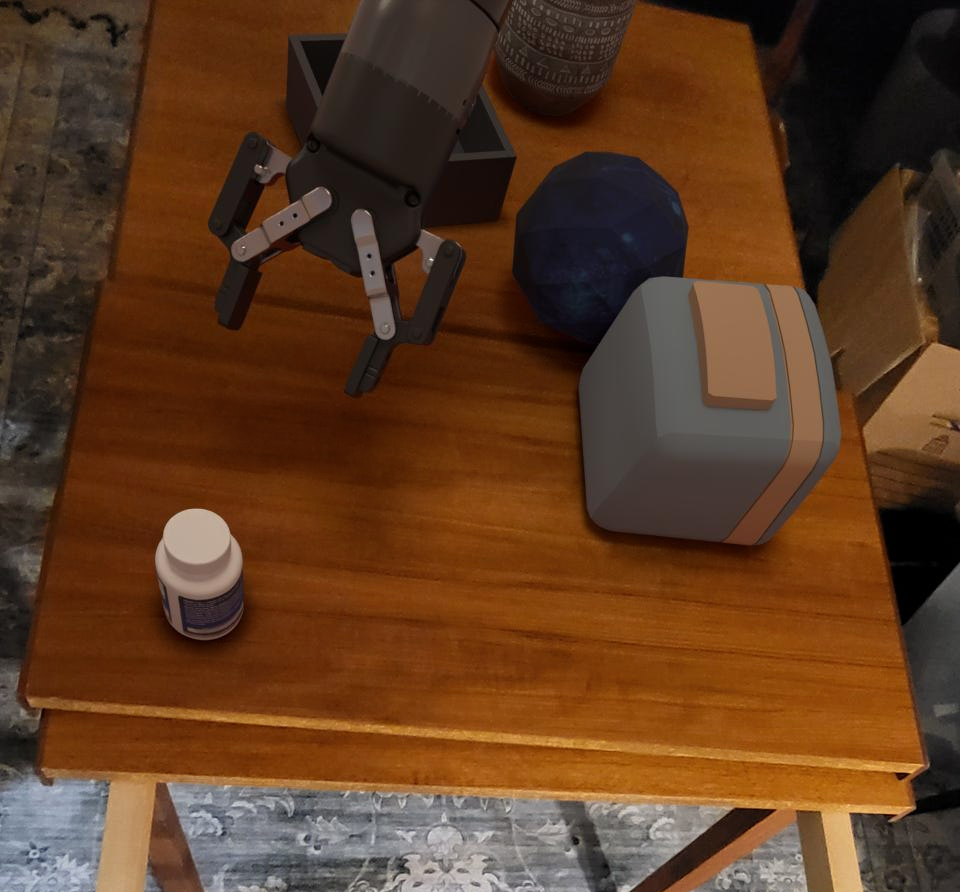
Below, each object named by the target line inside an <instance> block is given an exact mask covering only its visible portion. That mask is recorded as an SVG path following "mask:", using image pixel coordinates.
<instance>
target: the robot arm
mask: <svg viewBox="0 0 960 892" xmlns="http://www.w3.org/2000/svg"><path fill="white" fill-rule="evenodd" d="M513 1H514V0H360V1H359V3H358V5H357V6H356V10H355V12H354V15H353V17H352V20H351V22H350V25H349V28H348V30H347V32H346V33H347V35H346V38H345V40H344V43H343V45H342V48H341V50H340V53H339V56H338V58H337V61H336V63H335V66H334V69H333V71H332V74H331V76H330V79H329V81H328V84H327V86H326V89H325V92H324V94H323V97H322V99H321V102H320V104H319V107H318V110H317V112H316V115H315V117H314V120H313V122H312V125H311V128H310V131H309V134H308V137H307V141H306V144H305V146H304V147H303V149H302V148H301V150H300V151H299V152H298V153H297V154H296V155H295V156H293V158H292V157H290V156H289V155H288V154H286V153H284V152H283V151H281V150H280V149H278V147H277V145H276V144H275V143H273V142H272V141H270V140H269V139H267V138H266V137H265V136H263V135H261V134H260V133H258V132H257V131H250V132H248V133H246V134H245V135H244V137H243V138H242V142H241V144H240V146H239V148H238V151H237V153H236V155H235V158H234V160H233V162H232V164H231V167H230V169H229V171H228V174H227V175H226V178H225V181H224V183H223V186H222V187H221V190H220V192H219V194H218V197H217V199H216V202H215V204H214V206H213V208H212V211H211V213H210V215H209V217H208V220H207V226H208V227H207V228H208V230H209V232H210V233H211V234H212V235H214V236H216V237H217V238H218V240H220V241H221V243H222V244H223V246H225V247H226V249H227V250H228V253H229V262H228V264H227V268H226V270H225V273H224V275H223V278H222V280H221V284H220V286H219V289H218V292H217V294H216V296H215V299H214V312H216V313H218V317H217V324H218V325H220V326H222V327H223V328H225V329H227V330H229V331H239V330H241V328H242V326H243V325H244V322H245V320H246V318H247V314H248V312H249V310H250V306H251V305H252V301H253V299H254V297H255V294H256V292H257V289H258V287H259V284H260V281H261V279H262V276H263V274H264V273H263V272H262V271H260V270H259V269H260V267H261V266H263V265H264V264H266V263H268V262H270V261H271V260H273V259H275V258H277V257H279V256H280V255H282V254H284V253H287V252H290V251H293V250H295V249H297V248H299V247H301V249H302V250H303V251H305V252H307V253H309V254H311V255H313V256H315V257H317V258H320V259H323V260H324V261H325V260H326V261H330V263H332V264H333V265H334V266H335V267H336V268H337V269H338V270H340V271H341V272H344V273H346V274H347V275H349V276H352V277H354V278H357V279H360V278H362V281H363V285H364V291H365V295H366V297H367V299H368V302H369V306H370V311H371V316H372V321H373V327H374V331H373V332H372V334H370V333H369V334H368V333H367V335H366V337H365V340H364V341H363V344H362V346H361V348H360V351H359V353H358V356H357V358H356V360H355V362H354V365H353V367H352V369H351V371H350V374H349V376H348V378H347V380H346V383H345V385H344V388H343V393H344V394H345V395H346V396H349V397H351V398H352V399H361V398H362V396H364V394H372V393H373V392H374V391H375V390H376V389H377V388H378V386H379V385H380V383H381V381H382V378H383V376H384V374H385V371H386V369H387V367H388V365H389V362H390V361H391V358H392V356H393V353H394V351H395V349H396V348H397V347H398V346H400V345H403V344H407V345H408V344H409V345H416V346H422V347H428V346H430V345H432V344H433V343H434V342H435V340H436V337H437V334H438V332H439V330H440V326H441V324H442V321H443V319H444V317H445V315H446V312H447V309H448V307H449V304H450V301H451V298H452V296H453V293H454V291H455V289H456V287H457V283H458V280H459V278H460V276H461V273H462V271H463V268H464V266H465V263H466V260H467V253H466V250H465V249H464V247H463V246H462V245H461V244H460V243H458V242H457V241H455V240H453V239H444V238H442V237H439V236H438V235H436V234H434V233H431V232H429V231H427V230H426V229H425V227H424V220H425V214H426V211H427V208H428V206H429V204H430V202H431V199H432V197H433V195H434V193H435V190H436V188H437V186H438V184H439V181H440V179H441V177H442V174H443V172H444V170H445V168H446V165H447V163H448V161H449V159H450V156H451V154H452V152H453V149H454V147H455V145H456V142H457V140H458V138H459V136H460V133H461V131H462V129H463V127H464V124H465V122H466V121H467V120H468V119H469V117H470V115H471V113H472V110H473V108H474V106H475V104H476V97H477V95H478V93H479V90H480V88H481V85H482V84H483V82H484V80H485V78H486V75H487V71H488V67H489V65H490V61H491V57H492V55H493V52H494V45H495V43H496V40H497V38H498V34H499V32H500V30H501V28H502V26H503V24H504V21H505V19H506V17H507V14H508V12H509V10H510V8H511V5H512V3H513ZM282 177H284V179H285V181H284V182H285V185H286V186H285V187H286V191H287V195H288V202H289V205H288V206H286V207H284V208H283V209H281V210H279V211H278V212H276V213H274V214H272V215H271V216H269V217H268V218H266V219H264V220H263V221H262V222H260V225H259V226H258V227H255V229H253V230H251V231H250V232H247V231H246V230H247V228H248V226H249V223H250V221H251V219H252V216H253V214H254V212H255V210H256V208H257V206H258V203H259V201H260V199H261V196H262V194H263V192H264V190H265V188H266V187H272V186H275V184H276V183H277V181H278V180H279V179H280V178H282ZM418 249H420V251H421V253H422V260H421V268H422V270H423V272H424V273H425V274H427V278H426V280H425V283H424V286H423V288H422V290H421V293H420V296H419V298H418V301H417V304H416V306H415V309H414V311H413V314H412V317H411V319H410V321H409V320H404V319H403V314H402V309H401V304H400V297H401V295H400V289H399V283H398V278H397V273H396V267H395V263H397V262H398V261H401V260H402V259H404V258H406V257H407V256H409V255H411V254H413V253H414V252H416V251H417V250H418Z"/></svg>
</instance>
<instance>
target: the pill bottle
mask: <svg viewBox="0 0 960 892" xmlns="http://www.w3.org/2000/svg"><path fill="white" fill-rule="evenodd" d="M162 534H163V535H162V538H161V540H160V541H159V542H158V545H157V548H156V551H155V556H154V558H155V559H154V563H155V564H154V565H155V570H156V576H157V582H158V587H159V591H160V597H161V602H162V607H163V611H164V614H165V617H166V619H167V621H168V622H169V624H170V625H171V627H172V628H173V629H175V631H177V632H178V633H180V634H181V635H183V636H185V637H188V638H190V639H194V640H199V641H210V640H215V639H219V638H221V637H223V636H226V635H227V634H229V633H231V631H232V630H234V629H235V628H236V627H237V625H238V624H239V622H240V620H241V618H242V616H243V613H244V608H245V607H244V606H245V597H244V596H245V595H244V593H245V592H244V561H243V553H242V548H241V546H240V544H239V542H238V541H237V540H236V538H235V537H234V536H233V535H232V534H231V531H230V528H229V526H228V524H227V522H226V521H225V520H224V519H223V518H222V517H221V516H220V515H218V514H217V513H215V512H213V511H211V510H208V509H204V508H189V509H184V510H182V511H179V512H177V513H176V514H175V515H173V516H171V518H170V519H169V520H168V521H167V522H166V524H165V526H164V529H163V533H162Z"/></svg>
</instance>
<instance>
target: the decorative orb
mask: <svg viewBox="0 0 960 892" xmlns="http://www.w3.org/2000/svg"><path fill="white" fill-rule="evenodd" d="M689 227H690V226H689V223H688V220H687V216H686V213H685V210H684V206H683V204H682V200H681V197H680V193H679V192H678V191H677V190H676V189H675V187H674V186H673V185H671V183H670V182H668V180H667V179H666V178H664V176H663V175H662V174H660V173H659V172H658V171H657V170H655V169H654V168H653V167H651V166H650V165H649V164H648V163H646V162H645V161H644V160H642V159H641V158H640V157H638V156H634V155H630V154H629V155H628V154H623V153H619V152H613V151H589V150H586V151H583V152H581V153H580V154H577V155H575V156H573V157H571V158H569V159H567V160H565V161H563V162H560V163H558V164H556V165H554V166H553V167H552V168H551V169H550V171H548V173H547V174H546V176H545V177H544V178H543V180H542V181H541V182H540V183H539V185H538V186H537V187H536V188H535V189H534V191H533V192H532V193H531V195H529V197H528V199H527V200H526V201H525V202H524V204H523V205H522V206H521V207H520V208H519V210H518V211H517V212H516V215H515V228H514V240H513V253H512V266H511V274H512V277H513V278H514V280H515V282H516V283H517V285H518V287H519V289H520V290H521V292H522V294H523V295H524V297H525V299H526V301H527V302H528V304H529V306H530V308H531V310H532V311H533V313H534V315H535V316H536V318H537V320H538V322H539V323H540V324H541V325H544V326H546V327H549V328H551V329H553V330H555V331H557V332H559V333H562V334H565V335H567V336H569V337H572V338H574V339H576V340H578V341H581V342H583V343H585V344H588V345H590V346H591V345H595V344H600V342H601V340H602V339H603V337H604V336H605V334H606V333H607V331H608V330H609V328H610V327H611V325H612V324H613V322H614V321H615V319H616V318H617V316H618V314H619V313H620V311H621V310H622V308H623V307H624V305H625V304H626V302H627V301H628V299H629V298H630V296H631V295H632V293H633V292H634V291H635V290H636V289H637V288H638V287H639V286H640V285H641V284H642V283H644V282H645V281H646V280H648V279H649V278H655V277H677V278H684V273H685V263H686V255H687V247H688V237H689V229H690V228H689Z"/></svg>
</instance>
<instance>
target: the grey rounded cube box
mask: <svg viewBox="0 0 960 892" xmlns="http://www.w3.org/2000/svg"><path fill="white" fill-rule="evenodd" d="M833 370H834V369H833V363H832V360H831V356H830V352H829V348H828V345H827V341H826V336H825V333H824V329H823V326H822V324H821V320H820V316H819V314H818V310H817V307H816V304H815V303H814V301H813V300H812V298H811V296H810V295H809V294H808V293H807V292H806V290H804V289H802V288H799V287H797V286H792V285H783V284H770V283H769V284H768V283H755V282H743V281H730V280H715V279H702V278H687V277H683V278H677V277H655V278H649V279H648V280H646V281H645V282H644V283H642V284H641V285H640V286H639V287H638V288H637V289H636V290H635V291H634V292H633V293H632V295H631V296H630V298H629V299H628V301H627V302H626V304H625V305H624V307H623V308H622V310H621V311H620V313H619V314H618V316H617V318H616V319H615V321H614V322H613V324H612V325H611V327H610V328H609V330H608V331H607V333H606V334H605V336H604V337H603V339H602V340H601V342H600V343H598V345H597V346H596V348H595V350H594V351H593V352H592V354H591V356H590V357H589V359H588V361H587V362H586V363H585V365H584V367H583V368H582V371H581V374H580V377H579V383H578V398H579V409H580V426H581V439H582V441H581V442H582V454H583V455H582V456H583V457H582V458H583V470H584V483H585V484H584V485H585V486H584V487H585V499H586V501H585V502H586V509H587V513H588V515H589V518H590V519H591V520H592V521H593V522H594V524H595V525H597V526H598V527H599V528H602V529H604V530H607V531H609V532H618V533H627V534H637V535H647V536H654V537H655V536H656V537H666V538H676V539H684V540H685V539H686V540H695V541H702V542H703V541H705V542H714V543H724V544H733V545H742V546H757V545H764V544H765V543H767V542H768V541H770V540H772V538H773V537H775V535H776V534H777V533H778V532H779V531H780V529H782V527H783V526H784V525H785V524H786V522H787V521H788V520H789V519H790V518H791V516H792V515H793V514H794V513H795V512H796V511H797V510H798V508H800V506H801V505H802V503H803V502H804V501H805V500H806V498H808V496H809V495H810V493H811V492H812V491H813V490H814V488H815V487H816V486H817V484H818V483H819V482H820V480H821V479H822V478H823V476H825V474H826V473H827V471H828V470H829V468H830V467H831V466H832V465H833V463H834V462H835V460H836V459H837V456H838V453H839V450H840V447H841V440H842V430H841V429H842V428H841V421H840V413H839V403H838V398H837V390H836V384H835V377H834V371H833Z"/></svg>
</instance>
